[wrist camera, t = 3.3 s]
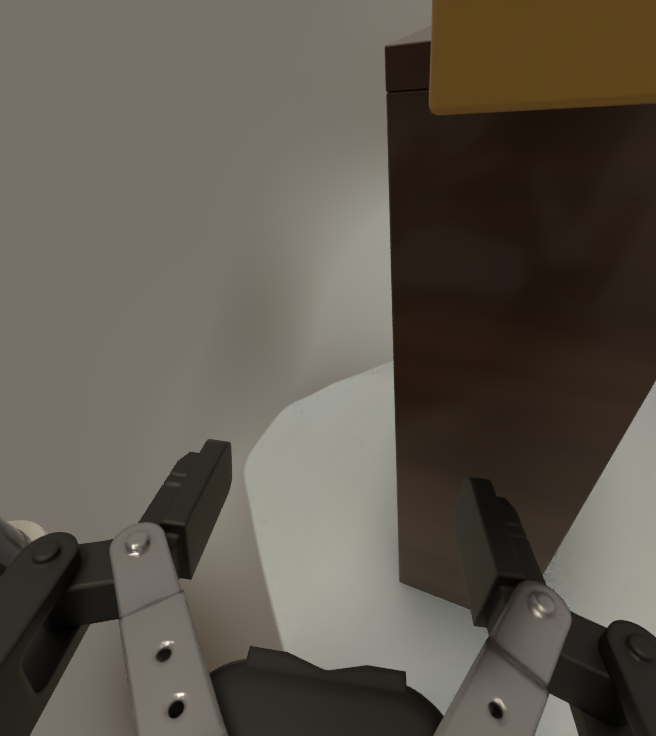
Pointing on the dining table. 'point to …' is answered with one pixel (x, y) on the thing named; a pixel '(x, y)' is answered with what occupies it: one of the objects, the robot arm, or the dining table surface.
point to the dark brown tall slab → (512, 307)
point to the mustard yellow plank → (541, 55)
